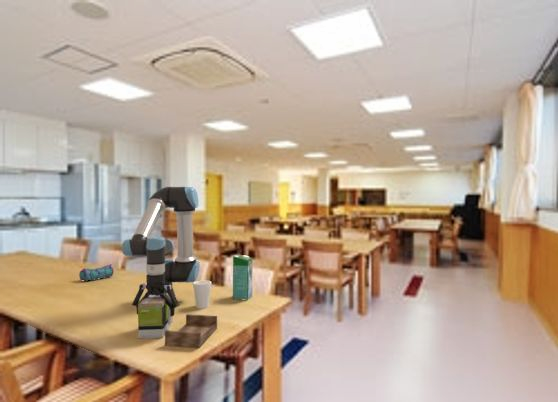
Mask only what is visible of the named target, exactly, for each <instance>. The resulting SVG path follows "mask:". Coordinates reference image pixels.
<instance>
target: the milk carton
mask: <svg viewBox="0 0 558 402" xmlns="http://www.w3.org/2000/svg"><path fill="white" fill-rule="evenodd" d="M251 296H252V297H253V258H252V257H250V255H249V256H248V255H245V254H244V255H242V254H240V253H239V254H238V253H237V254H235V255H233V256H232V300H234V299H245V300H244V301H249V300H250V299H249V298H250V297H251ZM252 297H251V298H252ZM248 299H249V300H248Z"/></svg>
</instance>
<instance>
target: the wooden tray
mask: <svg viewBox="0 0 558 402" xmlns="http://www.w3.org/2000/svg"><path fill="white" fill-rule="evenodd" d="M217 329H218V316H217V315H210V314H209V315H208V314H207V315H206V314H190V313H188V314H186V315H185V324H184V325H183V326H182V327H180V328H179V330H169V329H168V330H166V331H165V334H164V346H166V347H177V348H178V347H180V348H189V349H190V348H194V349H200V348H201V347H202V346H203V345H204V344H205V343H206V342H207V340H208V339H209V338H210V337H211V336H212V335H213V333H214V332H215V331H216V330H217Z"/></svg>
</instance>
